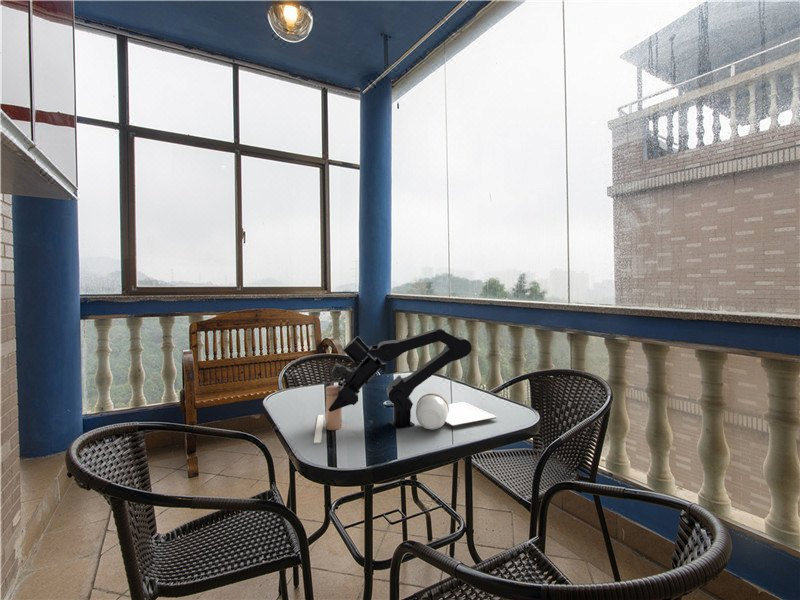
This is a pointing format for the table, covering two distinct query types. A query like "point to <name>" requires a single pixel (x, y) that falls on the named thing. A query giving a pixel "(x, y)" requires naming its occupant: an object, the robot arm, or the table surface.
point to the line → (319, 429)
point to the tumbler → (335, 416)
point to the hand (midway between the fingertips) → (329, 407)
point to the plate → (466, 414)
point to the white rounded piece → (432, 411)
